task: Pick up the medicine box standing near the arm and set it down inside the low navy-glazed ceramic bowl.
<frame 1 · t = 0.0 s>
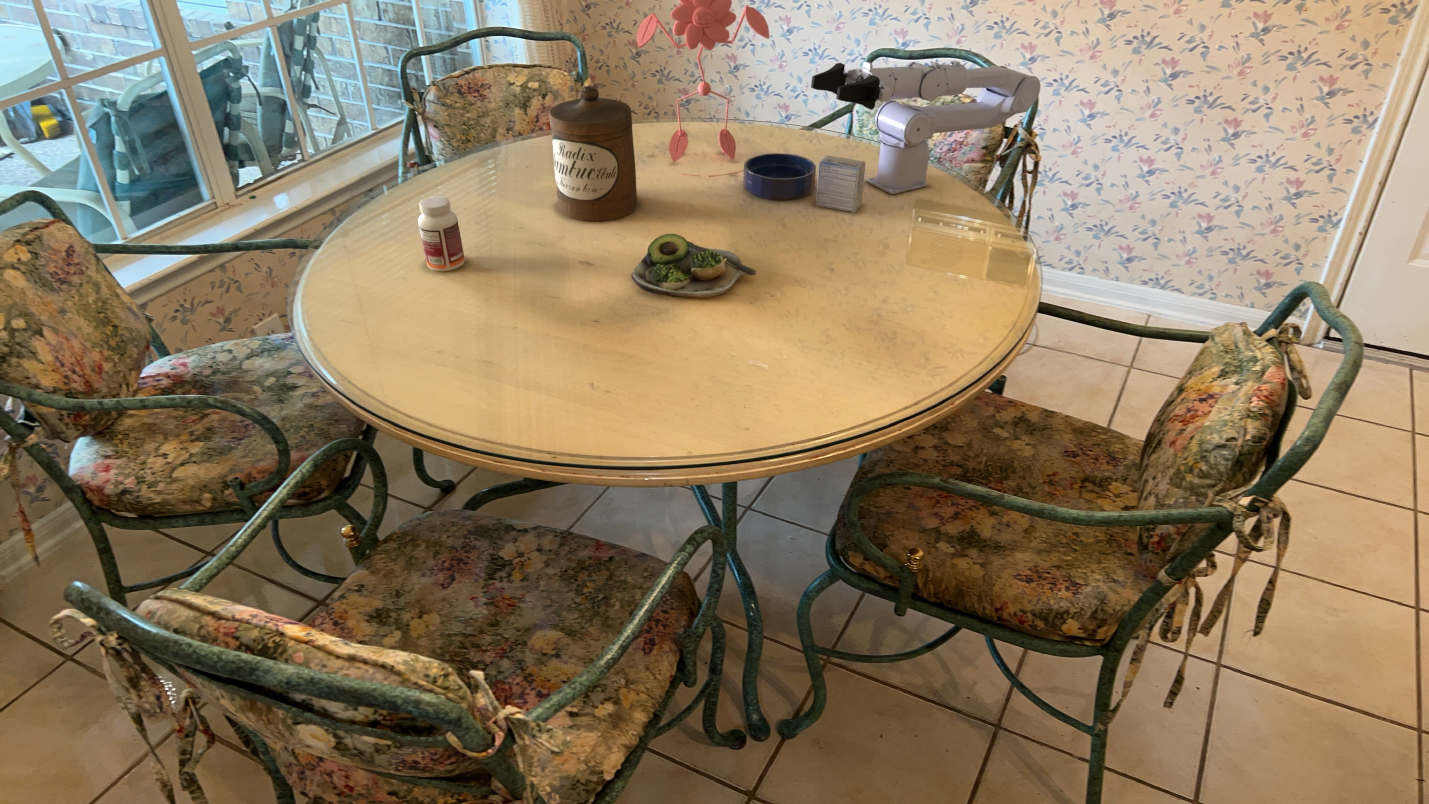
hand: (825, 87, 160), 22 cm above the table, tool horizontal, fingers open, 7 cm apart
figurine: (703, 166, 188), on the table
wooden container: (598, 207, 170), on the table
medicine box: (838, 206, 171), on the table
pill bottle: (446, 265, 150), on the table
bowl: (778, 187, 178), on the table
salad plate: (686, 276, 148), on the table
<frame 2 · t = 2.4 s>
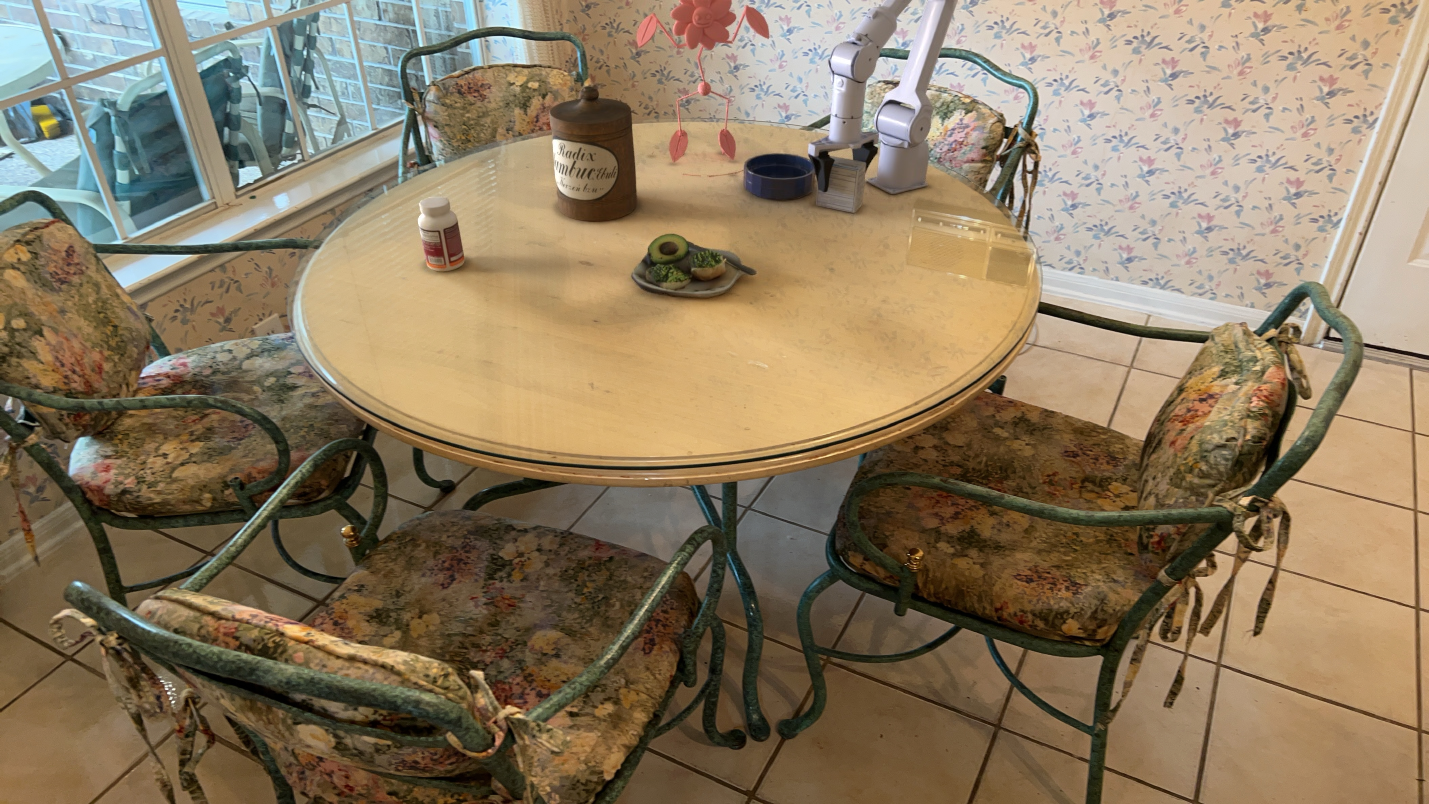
hand: (839, 186, 169), 4 cm above the table, tool pointing down, fingers closed on medicine box, 7 cm apart
medicine box: (838, 207, 171), on the table, touching gripper
everything else where it was.
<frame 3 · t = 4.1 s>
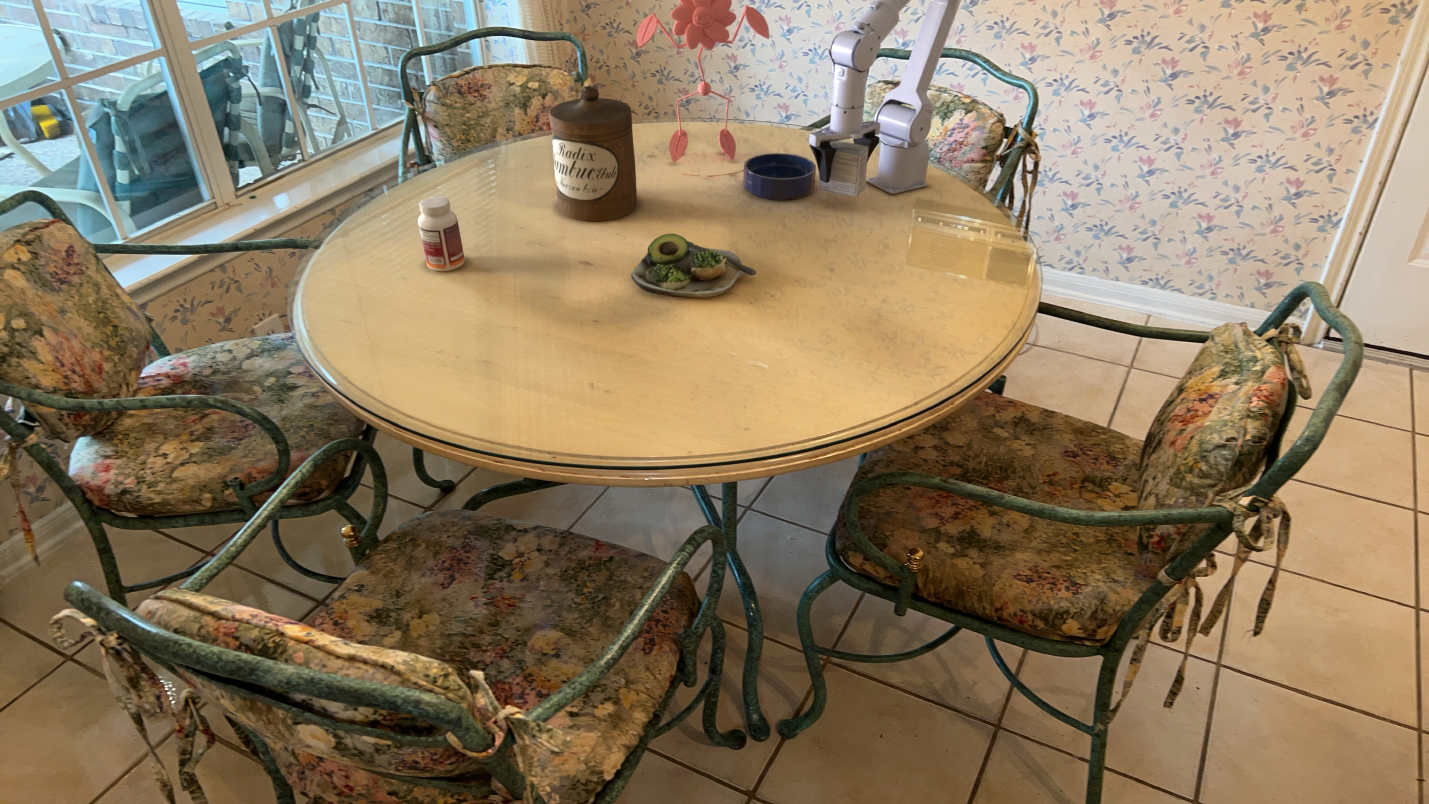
hand: (841, 177, 168), 6 cm above the table, tool pointing down, fingers closed on medicine box, 7 cm apart
medicine box: (841, 191, 170), point 3 cm above the table, touching gripper
everything else where it was.
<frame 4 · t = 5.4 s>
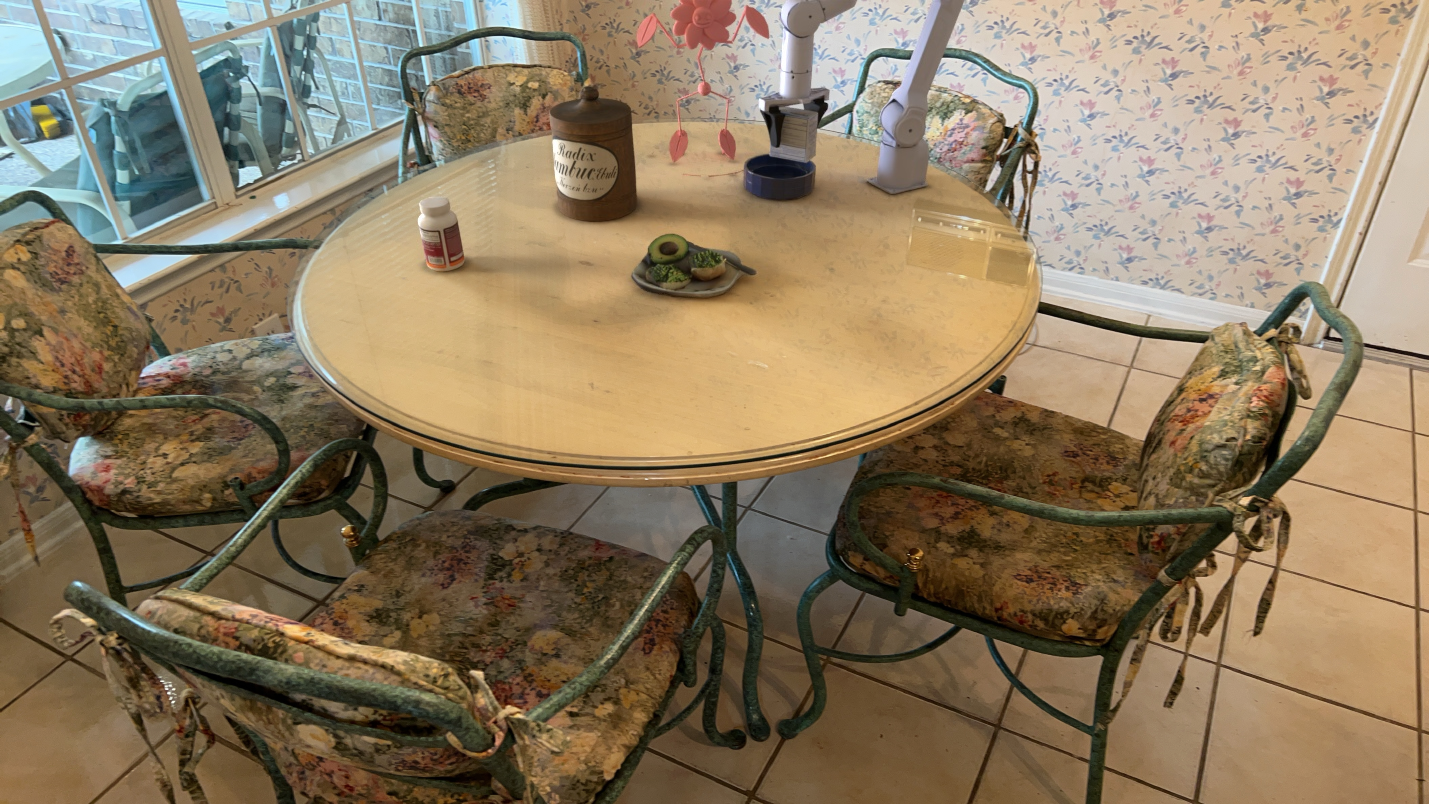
hand: (792, 142, 172), 10 cm above the table, tool pointing down, fingers closed on medicine box, 7 cm apart
medicine box: (792, 157, 173), point 7 cm above the table, touching gripper
everything else where it was.
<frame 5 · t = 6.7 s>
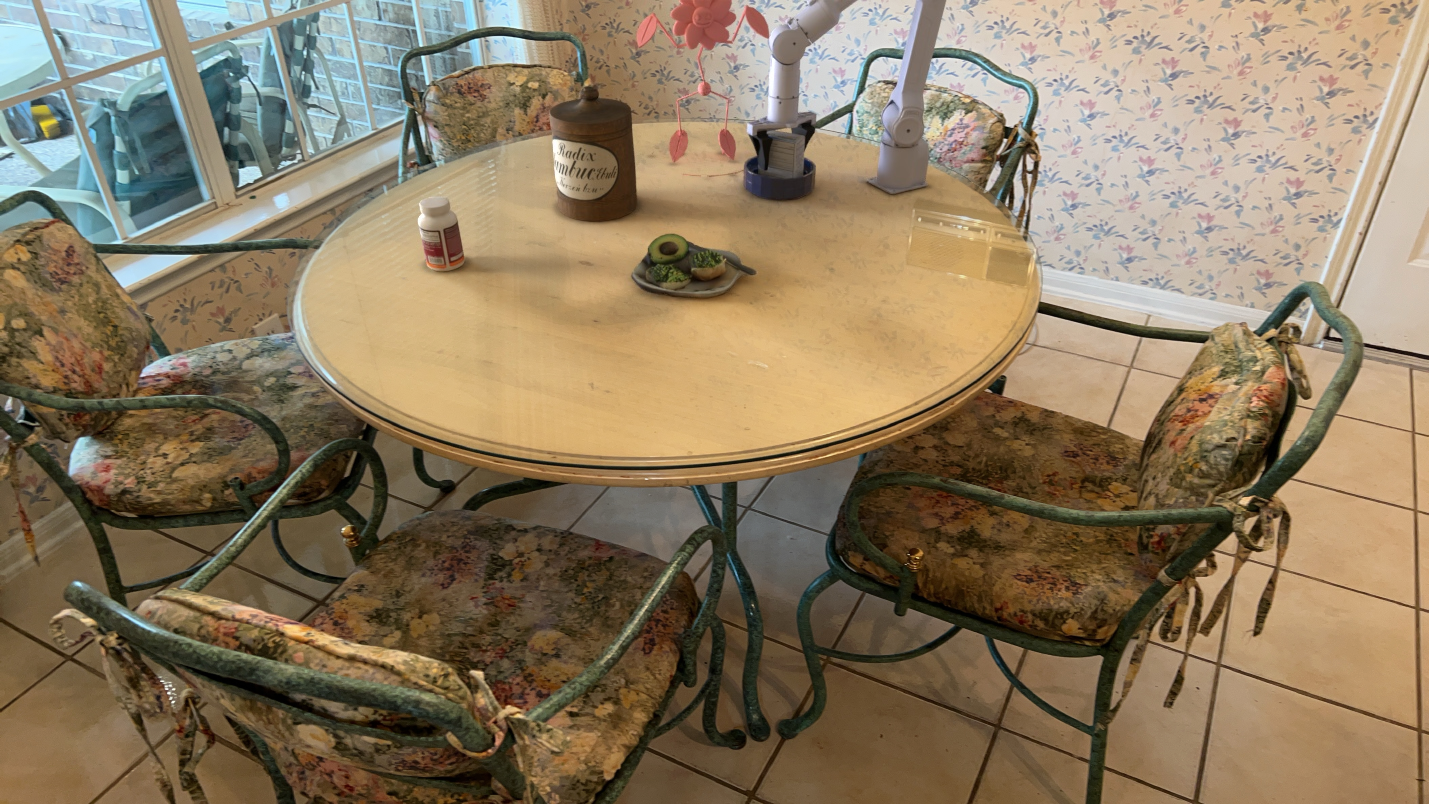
hand: (780, 165, 176), 5 cm above the table, tool pointing down, fingers closed on medicine box, 7 cm apart
medicine box: (780, 179, 177), point 2 cm above the table, touching gripper
everything else where it was.
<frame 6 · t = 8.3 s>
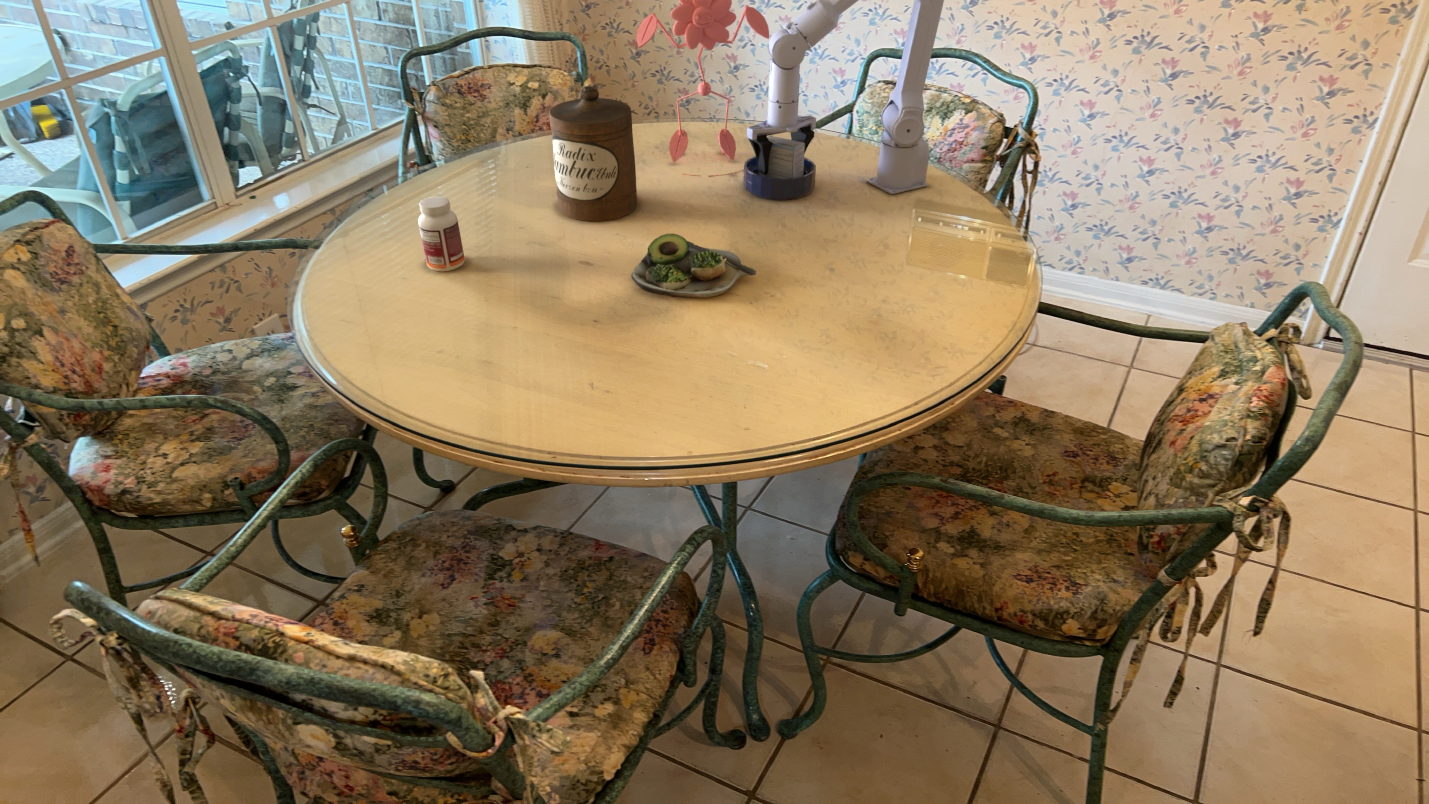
hand: (779, 169, 176), 4 cm above the table, tool pointing down, fingers closed on medicine box, 7 cm apart
medicine box: (780, 185, 178), resting on bowl, touching gripper
everything else where it was.
when the fingers open (4 cm above the table, at t = 8.3 s): medicine box stays where it is, resting on bowl.
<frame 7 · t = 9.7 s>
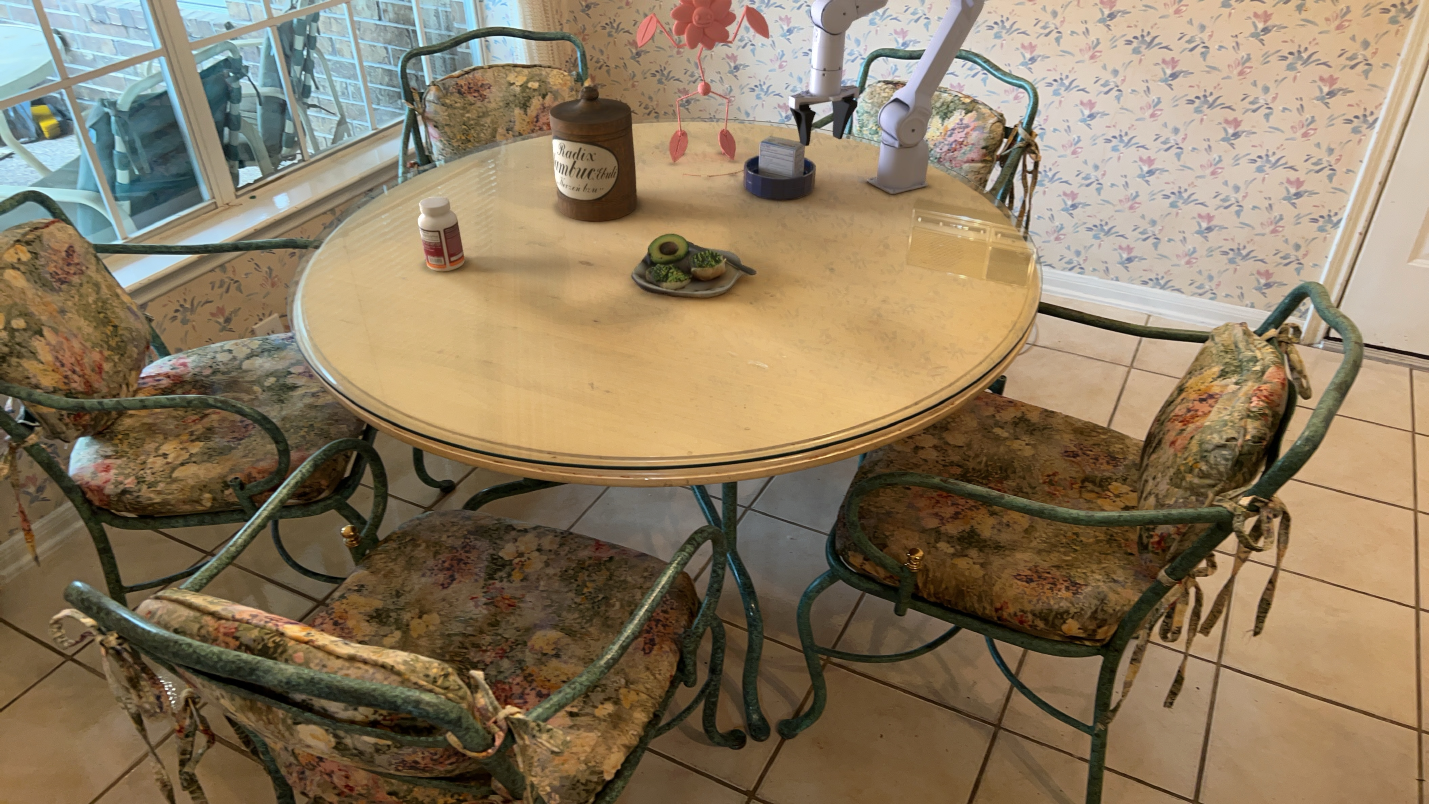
hand: (821, 141, 170), 10 cm above the table, tool pointing down, fingers open, 7 cm apart
medicine box: (780, 186, 178), resting on bowl
everything else where it was.
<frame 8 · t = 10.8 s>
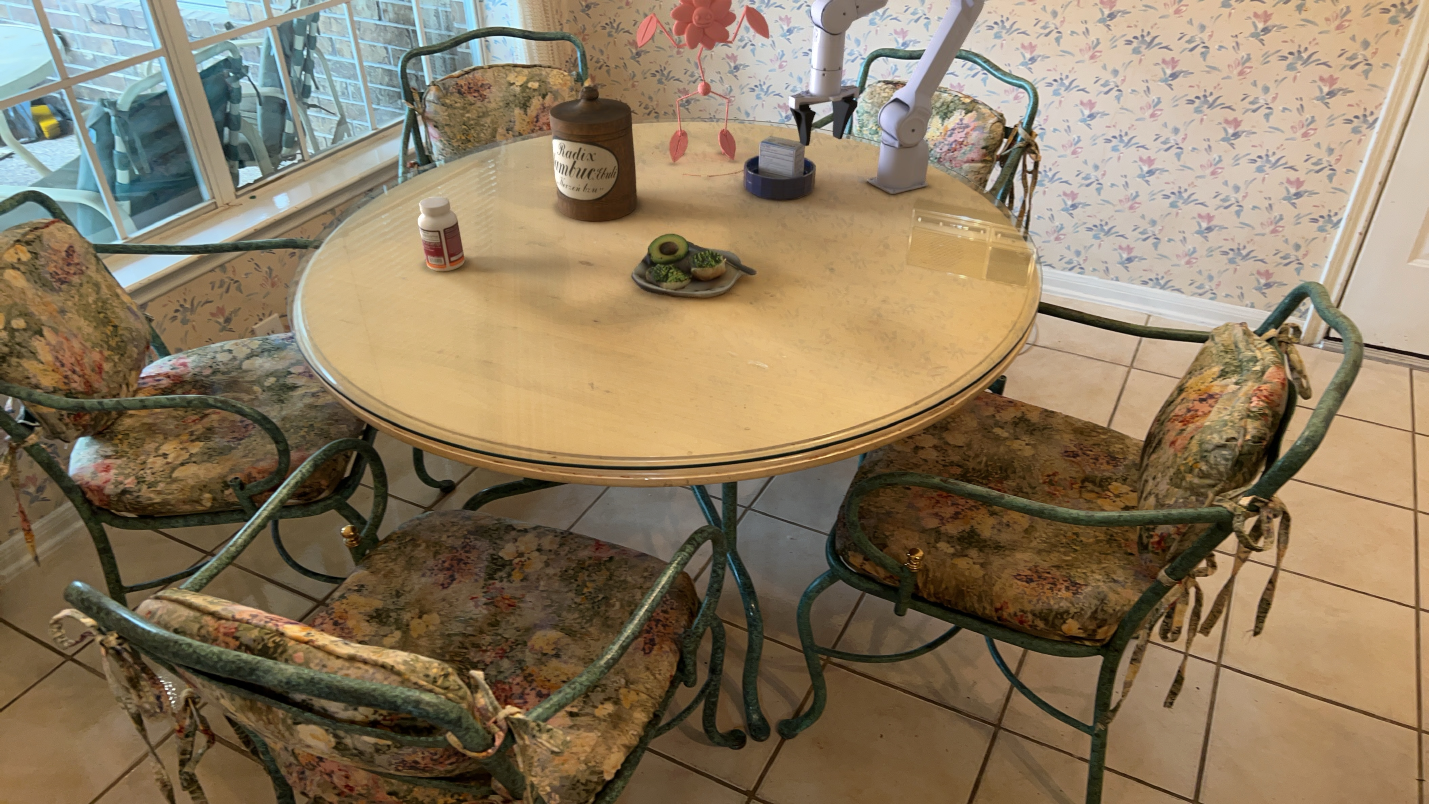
hand: (821, 141, 170), 10 cm above the table, tool pointing down, fingers open, 7 cm apart
nothing on the table moved.
at the end: medicine box inside the target area in the bowl (0.3 cm from its centre), point 0.4 cm above the bowl's base; the gripper is holding nothing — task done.
